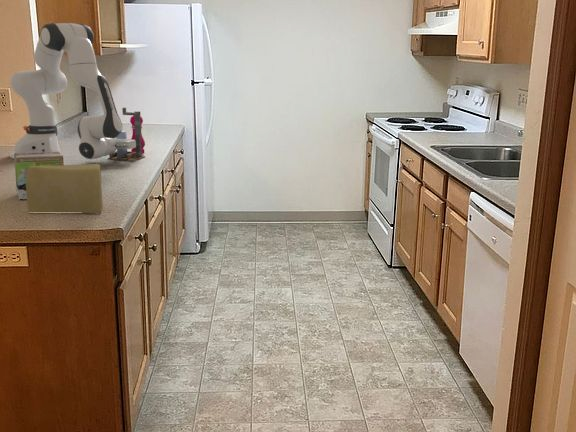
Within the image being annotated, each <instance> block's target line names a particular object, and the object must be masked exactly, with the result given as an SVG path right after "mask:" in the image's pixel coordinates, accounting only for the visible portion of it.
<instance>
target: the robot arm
mask: <svg viewBox="0 0 576 432" xmlns="http://www.w3.org/2000/svg"><path fill="white" fill-rule="evenodd" d="M94 36H95V35H94V32H93V30H92V29H91V27H90V26H89V25H86V24H84V23H74V22H65V23H64V22H61V23H54V22H52V23H47V24H44V25H43V26H42V27H41V30H40V35H39V38H38V40H37V43H36V47H35V51H34V54H33V61H34V63H35V64H36V65H37V67H38V68H40V69H30V70H28V69H27V70H21V71H20V70H19V71H16V72H13V73H12V75H11V77H10V81H9V82H10V84H9V85H10V87H11V89H12V90H13V92H14V93H15V94H16V95H19V97H21V99H22V100H23V101H24V103H25V105H26V108H27V111H28V116H29V118H28V119H29V125H28V126H27V125H23V130H24V131H25V134H24V135H23V136H22V137H20V138H19V139H18V140H17V141H16V142H15V143H14V144H15V145H14V148H13V149H14V150H13V152H11V153H9V158H11V159H13V160H14V153H35V152H60V153H61V154H62V152H61V151H62V150H61V148H60V145H59V141H58V134H59V133H58V126H57V124H56V113H55V108H54V107H53V105H52V104H50V103H48V102H46V101H45V99H44V97H43V95H57V94H59V93H64V92H65V90H66V89H67V87H68V80H67V77H66V75H65V73H64V72H62V71H61V67H60V66H61V62H62V58H63V55H64V52H65V53H66V54H67V57H68V66H69V67H68V68H69V73H70V76H71V79H72V80H73V81H74V82H75V84H77V85H79V86H81V87H84V88H87V89H89V90H93V91H94V92H95V93H97V96H98V98H99V100H100V104H101V108H102V111H103V114H100V115H99V114H97V115H87V116H82V117H81V118H80V120H79V121H78V124H77V133H78V136H79V139H80V143H79V144H78V151H79V154H80V155H81V156H82V157H83V158H85V159H87V160H88V159H89V160H95V159H96V160H97V159H100V158H102V157H107V156H109V155H110V154H113V153H114V152H116V151H117V149H127V150H131V149H132V148H135V147H136V141H135V140H132V139H131V138H130V139H129V138H127V139H117V138H116V137H117V136H118V135H119V134H120V133H121V131H123V123H122V120H121V118H120V116H119V114H118V111H117V108H116V105H115V102H114V97H113V94H112V92H111V88H110V85H109V83H108V80H107V78H106V77H105V76H104V75H102V74H101V72H100V71H99V68H98V64H97V57H96V54H95V49H94V47H93V44H94Z"/></svg>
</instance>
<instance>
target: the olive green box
mask: <svg viewBox="0 0 576 432" xmlns="http://www.w3.org/2000/svg"><path fill="white" fill-rule="evenodd" d="M102 188H103V187H102V172H101V165H100V163H89V164H88V163H87V164H66V165H65V164H64V165H62V166H30V167H28V168H27V180H26V193H27V199H26V205H27V212H82V213H100V214H102V212H101V211H103V206H104V205H103V204H104V202H103V189H102Z"/></svg>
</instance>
